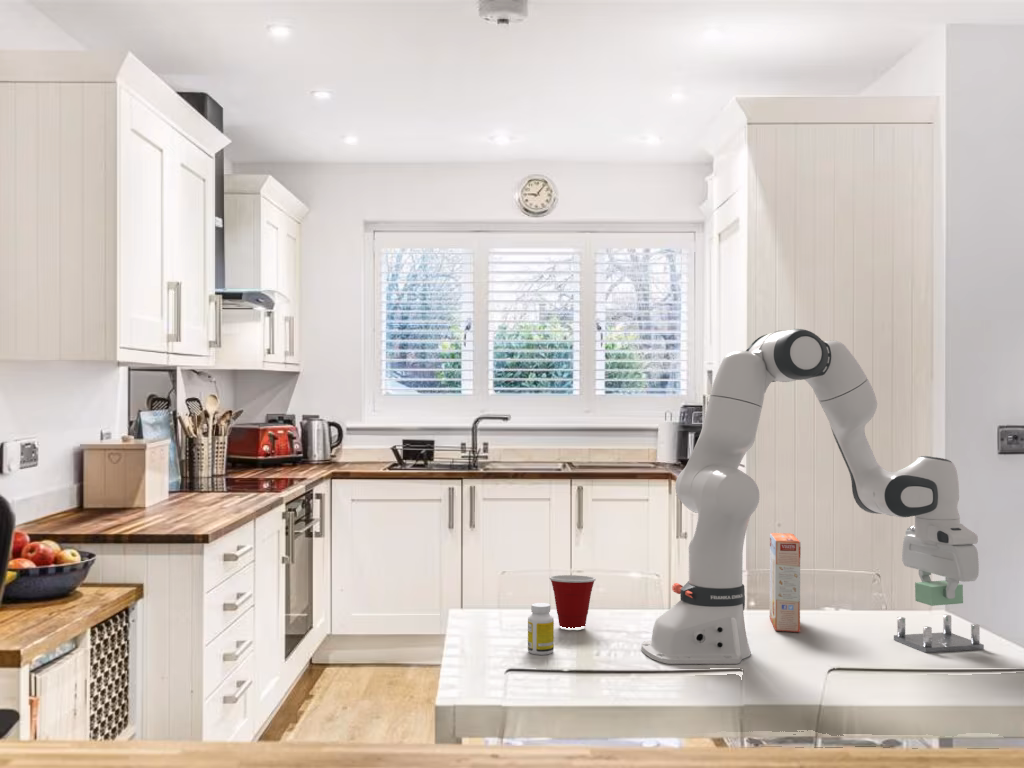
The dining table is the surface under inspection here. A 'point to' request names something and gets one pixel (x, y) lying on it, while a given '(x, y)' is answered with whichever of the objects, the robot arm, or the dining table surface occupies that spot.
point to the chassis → (939, 638)
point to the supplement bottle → (540, 630)
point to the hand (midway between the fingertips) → (938, 594)
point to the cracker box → (785, 582)
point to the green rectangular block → (936, 593)
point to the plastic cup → (572, 598)
